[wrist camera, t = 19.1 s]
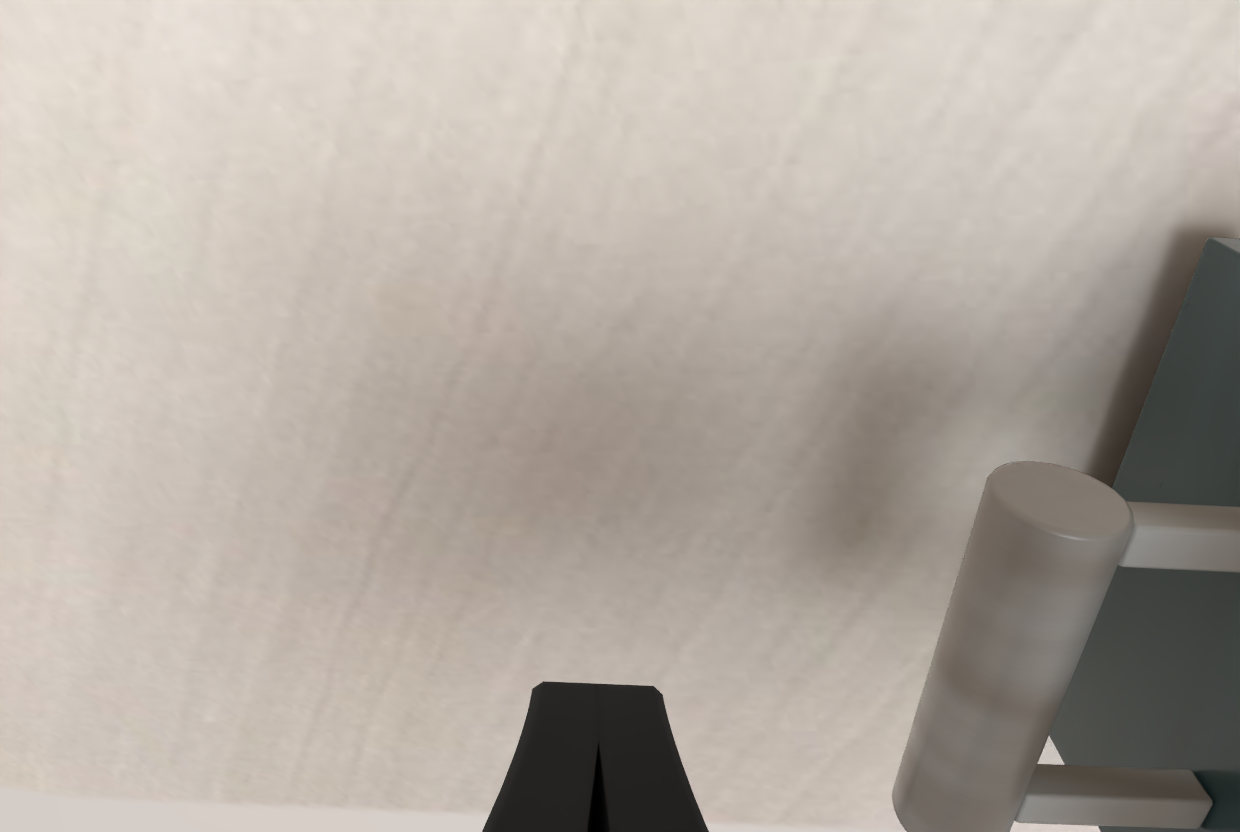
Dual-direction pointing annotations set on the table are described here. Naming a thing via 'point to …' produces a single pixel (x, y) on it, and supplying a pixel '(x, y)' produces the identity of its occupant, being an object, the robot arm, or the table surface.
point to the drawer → (1102, 619)
